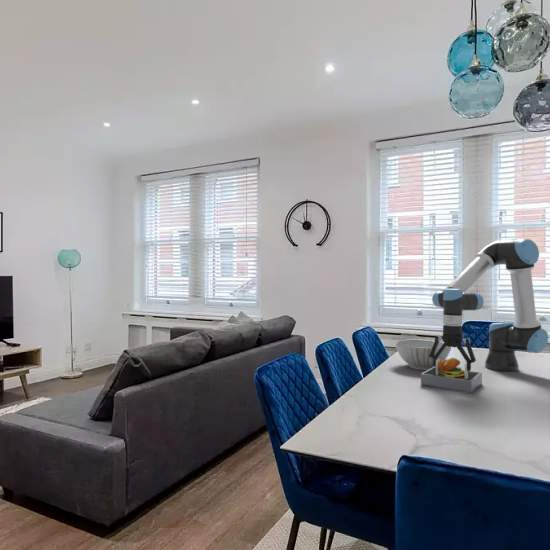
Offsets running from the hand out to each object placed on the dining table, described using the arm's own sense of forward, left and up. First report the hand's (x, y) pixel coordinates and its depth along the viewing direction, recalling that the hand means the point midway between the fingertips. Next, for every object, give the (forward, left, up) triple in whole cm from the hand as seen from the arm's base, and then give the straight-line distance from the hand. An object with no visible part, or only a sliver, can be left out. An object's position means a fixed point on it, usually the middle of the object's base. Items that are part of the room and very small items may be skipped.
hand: (451, 376), depth 188 cm
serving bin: (0, 0, -4) cm, 4 cm away
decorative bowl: (-27, -21, -4) cm, 34 cm away
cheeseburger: (0, 0, -1) cm, 1 cm away
